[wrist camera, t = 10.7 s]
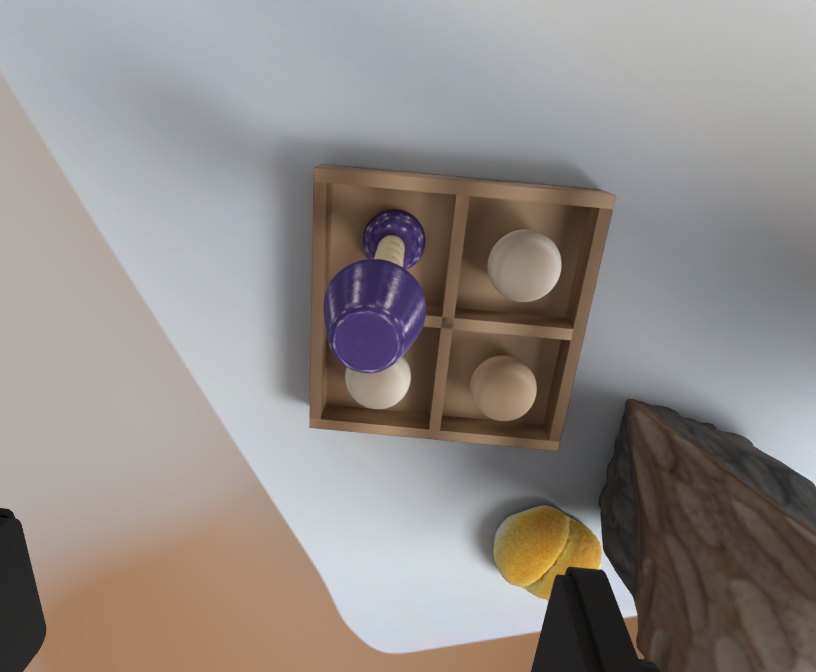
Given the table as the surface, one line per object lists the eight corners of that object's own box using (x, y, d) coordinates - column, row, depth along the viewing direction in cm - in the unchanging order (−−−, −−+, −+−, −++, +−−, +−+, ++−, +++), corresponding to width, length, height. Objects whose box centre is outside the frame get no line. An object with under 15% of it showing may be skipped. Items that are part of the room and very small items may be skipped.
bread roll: (527, 486, 44) (536, 519, 40) (611, 533, 46) (627, 569, 42) (470, 550, 47) (474, 587, 43) (551, 592, 48) (562, 631, 45)
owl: (777, 441, 41) (1059, 700, 23) (692, 557, 46) (870, 851, 27) (630, 392, 40) (802, 621, 22) (559, 515, 45) (650, 792, 26)
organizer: (600, 189, 35) (615, 195, 32) (549, 429, 42) (557, 451, 39) (323, 164, 35) (313, 168, 32) (317, 407, 42) (309, 427, 39)
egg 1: (414, 336, 38) (412, 363, 34) (409, 392, 40) (406, 424, 36) (351, 330, 38) (341, 356, 34) (348, 386, 40) (339, 418, 36)
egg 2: (558, 226, 35) (576, 240, 31) (546, 292, 37) (561, 315, 32) (489, 220, 35) (497, 233, 31) (480, 286, 37) (486, 308, 32)
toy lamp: (438, 264, 36) (444, 369, 21) (376, 289, 37) (338, 408, 22) (410, 198, 35) (395, 259, 19) (347, 226, 35) (282, 305, 20)
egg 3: (535, 348, 38) (548, 376, 34) (524, 403, 40) (536, 436, 36) (472, 342, 38) (477, 369, 34) (464, 397, 40) (468, 430, 36)
